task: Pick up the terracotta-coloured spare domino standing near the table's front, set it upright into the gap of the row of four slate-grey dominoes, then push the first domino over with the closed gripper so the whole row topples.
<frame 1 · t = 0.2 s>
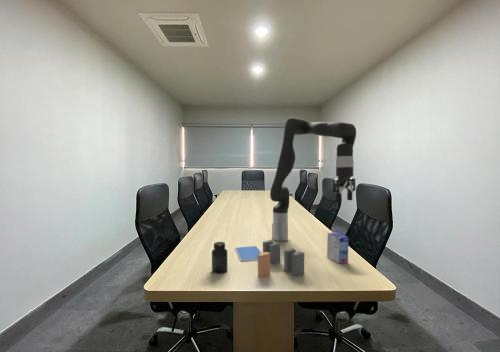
hand: (344, 201, 110), 29 cm above the table, tool pointing down, fingers open, 8 cm apart
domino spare: (264, 275, 99), on the table
domino 5: (298, 274, 99), on the table
tablet computer: (249, 255, 124), on the table
domino 1: (268, 259, 116), on the table
ink cartridge box: (337, 260, 115), on the table
domino 2: (274, 262, 111), on the table
supplement bottle: (219, 270, 104), on the table
domino 4: (289, 270, 103), on the table
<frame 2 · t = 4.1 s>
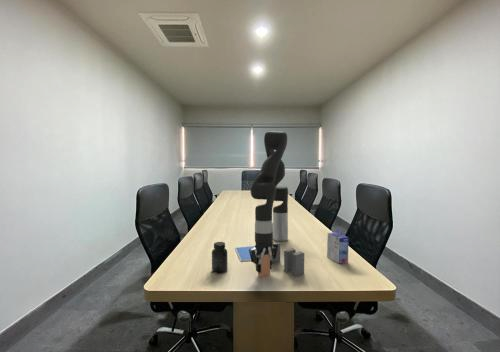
hand: (264, 270, 99), 2 cm above the table, tool pointing down, fingers closed on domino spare, 5 cm apart
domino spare: (264, 274, 99), on the table, touching gripper
everything else where it was.
when the fingers open (3 cm above the table, at t = 9.9 s): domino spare stays where it is, on the table.
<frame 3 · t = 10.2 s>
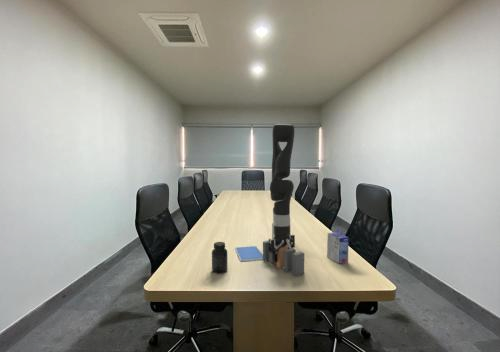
hand: (282, 259, 107), 3 cm above the table, tool pointing down, fingers open, 7 cm apart
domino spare: (282, 266, 107), on the table
everything else where it was.
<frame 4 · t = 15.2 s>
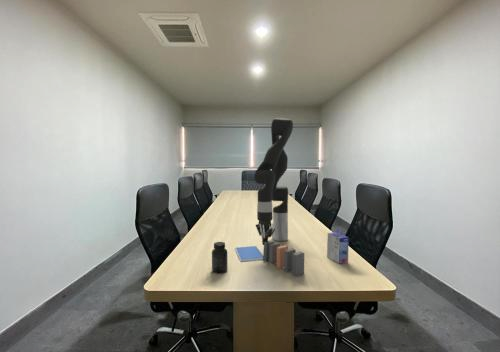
hand: (265, 245, 117), 7 cm above the table, tool pointing down, fingers closed
domino 1: (268, 259, 116), on the table, tilted 6°, touching gripper
everything else where it was.
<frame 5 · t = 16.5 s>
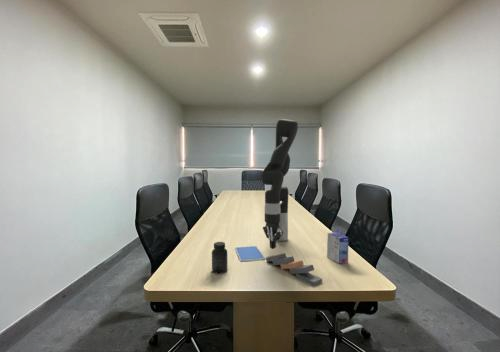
hand: (272, 248, 112), 7 cm above the table, tool pointing down, fingers closed
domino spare: (284, 265, 106), point 1 cm above the table, tilted 69°, touching domino 2, domino 4
domino 5: (300, 274, 98), on the table, tilted 90°
domino 1: (270, 258, 114), point 1 cm above the table, tilted 67°, touching domino 2
domino 2: (276, 261, 110), point 1 cm above the table, tilted 67°, touching domino 1, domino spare
domino 4: (294, 269, 101), point 1 cm above the table, tilted 68°, touching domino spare
everything else where it was.
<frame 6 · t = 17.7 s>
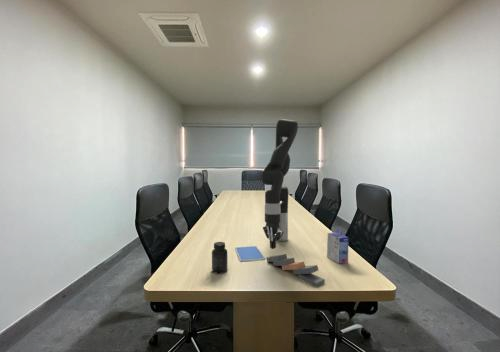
hand: (272, 248, 112), 6 cm above the table, tool pointing down, fingers closed
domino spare: (286, 266, 105), point 1 cm above the table, tilted 69°, touching domino 4
domino 5: (302, 275, 97), on the table, tilted 90°, touching domino 4
domino 2: (277, 262, 110), point 1 cm above the table, tilted 68°, touching domino 1
domino 4: (297, 270, 100), point 1 cm above the table, tilted 69°, touching domino 5, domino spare
everything else where it was.
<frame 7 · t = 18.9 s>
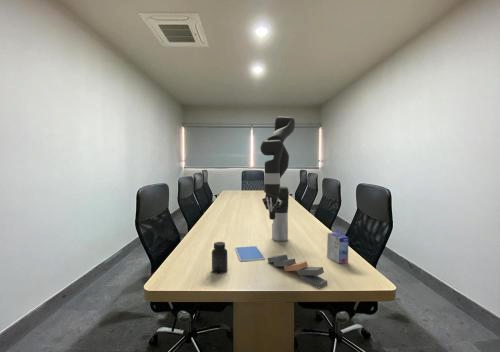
hand: (272, 219, 112), 20 cm above the table, tool pointing down, fingers closed
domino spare: (288, 267, 104), point 1 cm above the table, tilted 67°, touching domino 2, domino 4
domino 5: (304, 276, 97), on the table, tilted 90°, touching domino 4
domino 2: (278, 263, 109), point 1 cm above the table, tilted 69°, touching domino 1, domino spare
domino 4: (300, 270, 99), point 2 cm above the table, tilted 75°, touching domino 5, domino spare
everything else where it was.
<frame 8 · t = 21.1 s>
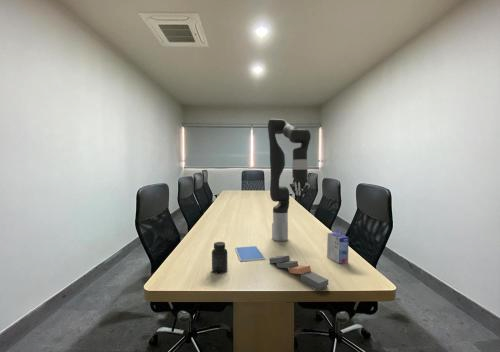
hand: (300, 202, 120), 27 cm above the table, tool pointing down, fingers closed
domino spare: (293, 269, 102), point 1 cm above the table, tilted 69°, touching domino 2
domino 5: (305, 278, 95), on the table, tilted 90°, touching domino 4
domino 1: (273, 259, 113), point 1 cm above the table, tilted 70°, touching domino 2
domino 2: (280, 263, 108), point 1 cm above the table, tilted 73°, touching domino 1, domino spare
domino 4: (305, 274, 94), point 2 cm above the table, tilted 90°, touching domino 5
everything else where it was.
at the end: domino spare inside the target area (3.8 cm from its centre), point 1.0 cm above the table; domino 5 tilted 90°; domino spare tilted 69° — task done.
